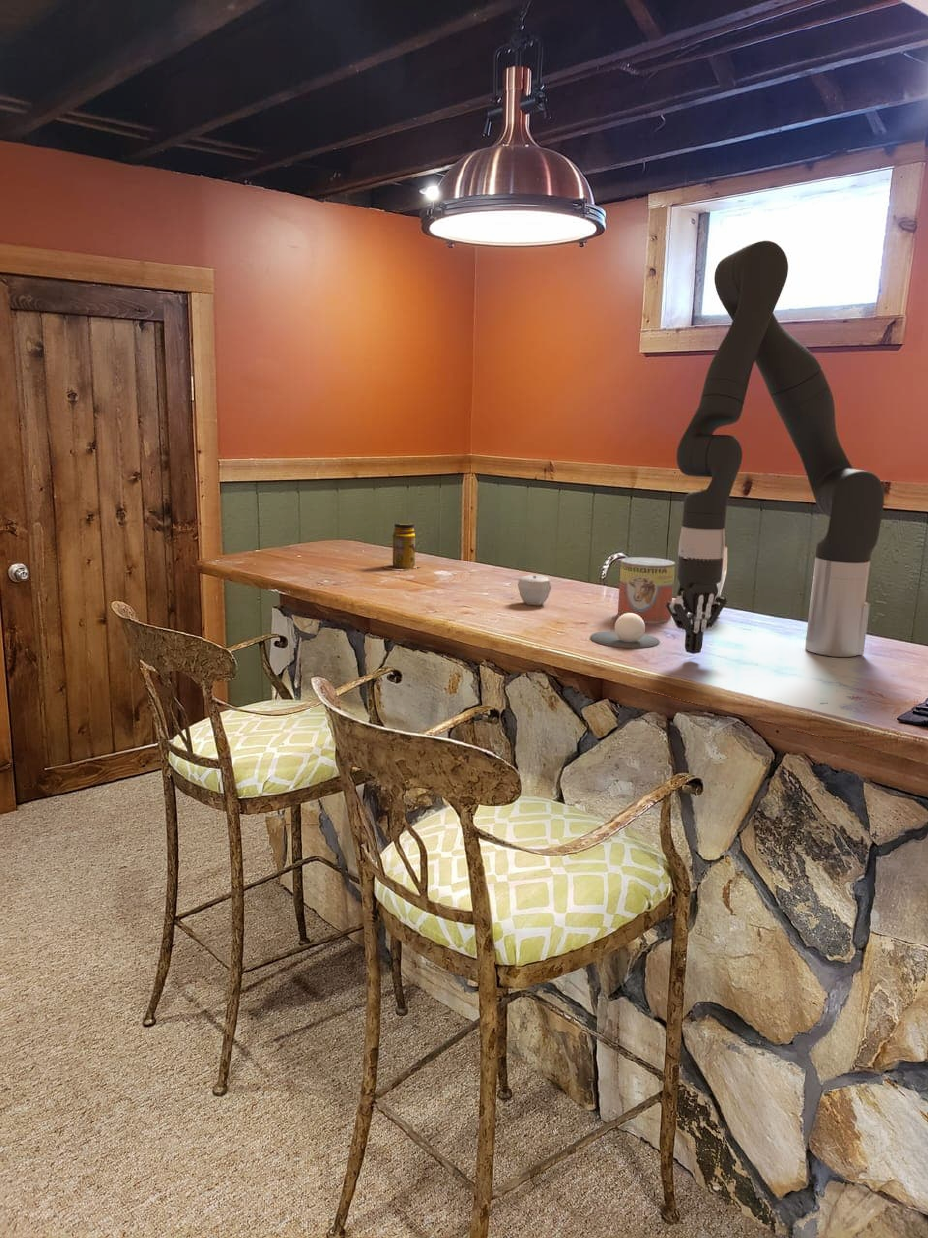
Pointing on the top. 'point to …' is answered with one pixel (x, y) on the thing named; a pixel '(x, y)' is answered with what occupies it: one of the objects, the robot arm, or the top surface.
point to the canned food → (646, 588)
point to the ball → (629, 627)
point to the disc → (612, 640)
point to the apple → (534, 589)
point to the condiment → (403, 547)
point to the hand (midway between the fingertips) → (692, 652)
